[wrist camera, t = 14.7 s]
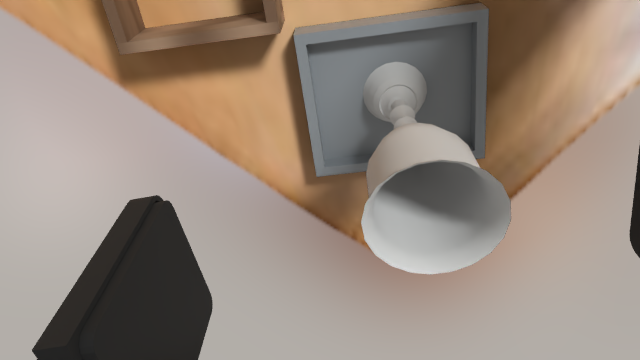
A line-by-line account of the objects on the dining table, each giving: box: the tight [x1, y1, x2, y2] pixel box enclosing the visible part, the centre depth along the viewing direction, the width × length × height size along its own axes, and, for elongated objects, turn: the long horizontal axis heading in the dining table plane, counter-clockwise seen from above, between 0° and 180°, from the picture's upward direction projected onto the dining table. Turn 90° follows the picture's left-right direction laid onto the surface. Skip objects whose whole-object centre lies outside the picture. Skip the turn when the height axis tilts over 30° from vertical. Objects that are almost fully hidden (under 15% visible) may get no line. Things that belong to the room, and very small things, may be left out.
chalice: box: [361, 62, 511, 275], centre depth 33 cm, size 7×7×18 cm
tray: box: [294, 3, 489, 177], centre depth 40 cm, size 14×12×2 cm
